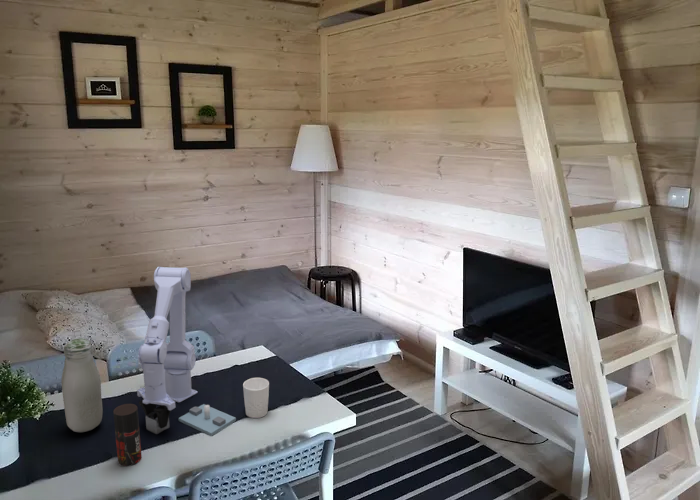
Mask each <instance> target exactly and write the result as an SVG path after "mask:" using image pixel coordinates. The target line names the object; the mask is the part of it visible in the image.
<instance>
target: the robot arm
mask: <svg viewBox="0 0 700 500" xmlns="http://www.w3.org/2000/svg"><path fill="white" fill-rule="evenodd" d="M190 271H191V270H189V268H188V267H170V266H169V267H166V266H164V267H163V266H157V268H155V269H154V273H153V284H154V287H155V290H157V292H156V302H155V308H154V316H153V317H152V318H150V319H149V321H148V325H147V330H146V332H145V339H144V343H143V344H141V345H140V347H139V349H138V356H137V359H138V362H139V364H140V368H141V370H142V371H143V373H142V374H143V384H144V387H140V388H139V389H136V393H137V394H136V395H137V397H142V399H141V400H139V401H138V405H139V406H140V407H141V409H142V410H143V412H144V414H145V416H146V415H148V414H150V413H152V412H154V411H155V413H156V414H157V417H158V422H159V426H160V428H161V429H162V428H164V427H165V426H167V423H168V419H169V420H170V415H171V412H172V410H174V409H175V408H177V407H176V402H177V403H181V402H183V401H185V400H187V399H189V398H191V397H192V396H194V395H197V394H198V391H197V390H196V389H193V388H192V374H191V371H192V370H193V369H194V368H195V366H196V359H197V358H196V353H195V346H194V345H193V344H192V343H190V342H189V341H187V340H186V294H187V292H190V291H191V286H192V284H191V283H192V282H191V281H192V280H191V279H192V276H191V275H192V274H191V272H190ZM168 315H169V321H168V319H167V318H168ZM168 332H169V342H167V338H168ZM157 405H158V406H157Z"/></svg>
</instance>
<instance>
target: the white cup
mask: <svg viewBox="0 0 700 500" xmlns="http://www.w3.org/2000/svg"><path fill="white" fill-rule="evenodd" d="M242 387H243V398H244V399H243V400H244V407H245V415H246V416H247V417H248V418H252V419H260V418H263V417H265V416H266V415H267V413H268V409H269V408H268V407H269V398H270V397H269V393H270V391H269V390H270V381H269V380H268V379H266V378H263V377H251V378H249V379H247V380H245V381H244V382H243V384H242Z"/></svg>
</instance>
